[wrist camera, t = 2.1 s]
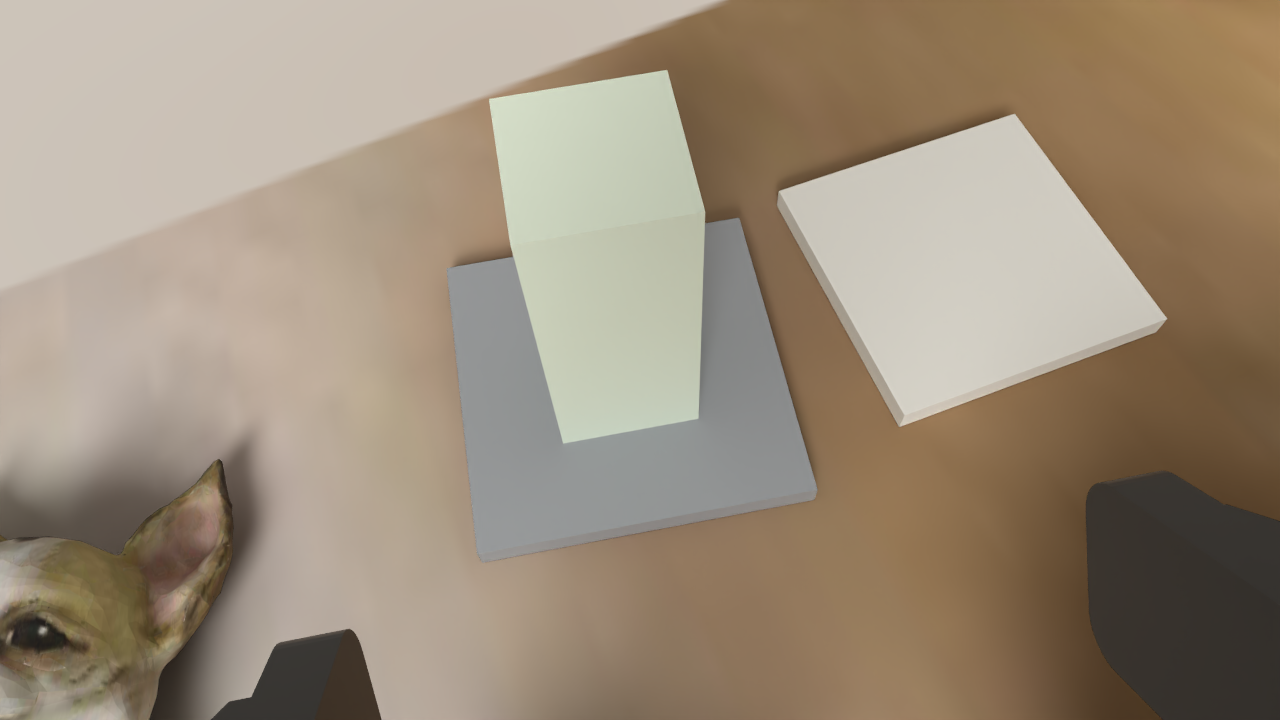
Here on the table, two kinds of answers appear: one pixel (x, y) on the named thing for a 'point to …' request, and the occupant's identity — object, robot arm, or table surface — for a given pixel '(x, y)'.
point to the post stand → (631, 461)
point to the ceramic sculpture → (109, 610)
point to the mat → (964, 267)
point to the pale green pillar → (607, 249)
